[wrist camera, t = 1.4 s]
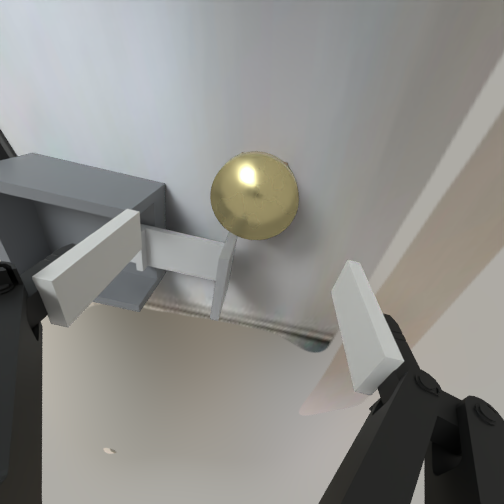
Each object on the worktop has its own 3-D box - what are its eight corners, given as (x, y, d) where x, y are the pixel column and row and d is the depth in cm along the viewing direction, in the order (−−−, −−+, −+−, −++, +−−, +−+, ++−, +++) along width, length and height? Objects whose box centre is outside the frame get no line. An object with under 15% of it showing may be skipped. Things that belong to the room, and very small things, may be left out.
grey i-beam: (117, 205, 27) (85, 227, 23) (237, 233, 28) (228, 260, 23) (125, 266, 32) (100, 294, 28) (227, 289, 33) (218, 320, 28)
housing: (32, 152, 28) (-44, 171, 22) (164, 183, 29) (129, 210, 22) (62, 248, 36) (12, 283, 30) (165, 272, 37) (139, 312, 30)
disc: (219, 141, 21) (215, 145, 19) (309, 163, 21) (311, 167, 20) (210, 222, 25) (206, 229, 24) (284, 239, 25) (284, 247, 24)
